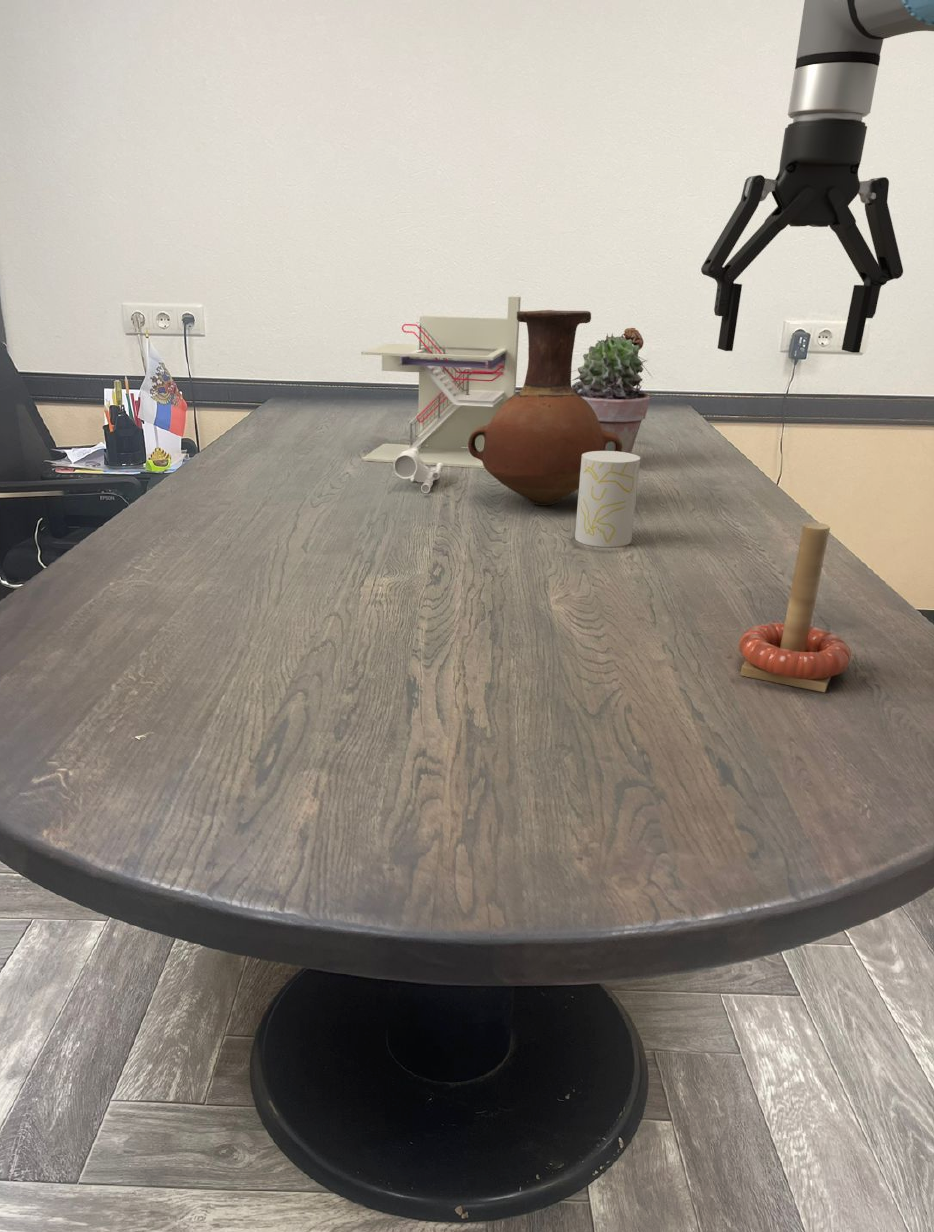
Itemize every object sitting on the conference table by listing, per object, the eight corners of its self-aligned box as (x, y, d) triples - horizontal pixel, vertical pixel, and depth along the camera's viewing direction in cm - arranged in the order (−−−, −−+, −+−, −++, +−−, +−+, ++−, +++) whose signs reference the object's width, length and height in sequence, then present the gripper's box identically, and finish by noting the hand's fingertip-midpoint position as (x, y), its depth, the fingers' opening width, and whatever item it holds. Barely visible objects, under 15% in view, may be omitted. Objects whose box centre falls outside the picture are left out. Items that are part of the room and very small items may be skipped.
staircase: (359, 462, 186) (357, 297, 173) (384, 445, 202) (383, 293, 189) (497, 471, 180) (506, 301, 167) (512, 453, 196) (520, 296, 183)
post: (835, 664, 98) (866, 521, 91) (825, 692, 91) (857, 541, 85) (756, 649, 101) (780, 510, 95) (740, 675, 95) (765, 529, 89)
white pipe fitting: (425, 484, 177) (446, 465, 175) (417, 503, 164) (439, 482, 162) (396, 453, 175) (417, 433, 173) (385, 469, 163) (407, 448, 161)
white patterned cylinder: (570, 543, 137) (577, 459, 131) (579, 529, 144) (586, 449, 138) (627, 549, 134) (636, 464, 129) (634, 534, 141) (643, 453, 136)
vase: (609, 492, 166) (627, 308, 153) (621, 521, 148) (643, 315, 135) (468, 487, 168) (474, 305, 155) (463, 516, 150) (469, 312, 137)
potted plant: (542, 469, 182) (551, 331, 172) (568, 451, 199) (578, 324, 188) (636, 478, 176) (651, 335, 166) (655, 459, 192) (670, 328, 182)
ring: (853, 654, 98) (858, 631, 96) (840, 691, 89) (845, 666, 88) (749, 635, 102) (753, 612, 101) (728, 669, 94) (732, 644, 93)
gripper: (932, 127, 96) (886, 348, 105) (689, 122, 96) (663, 345, 105) (973, 119, 89) (919, 355, 99) (711, 114, 89) (681, 352, 98)
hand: (787, 351), depth 102 cm, fingers open, 13 cm apart
